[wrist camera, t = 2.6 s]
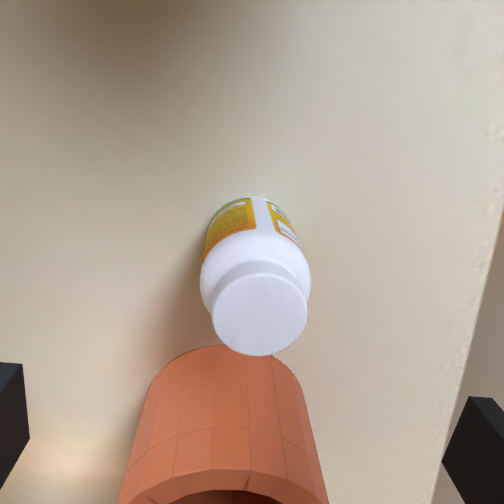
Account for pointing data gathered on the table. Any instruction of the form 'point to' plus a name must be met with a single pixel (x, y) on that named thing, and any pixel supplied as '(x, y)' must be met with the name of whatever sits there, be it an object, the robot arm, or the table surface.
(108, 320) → the table surface
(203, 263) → the supplement bottle
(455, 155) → the table surface
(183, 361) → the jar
